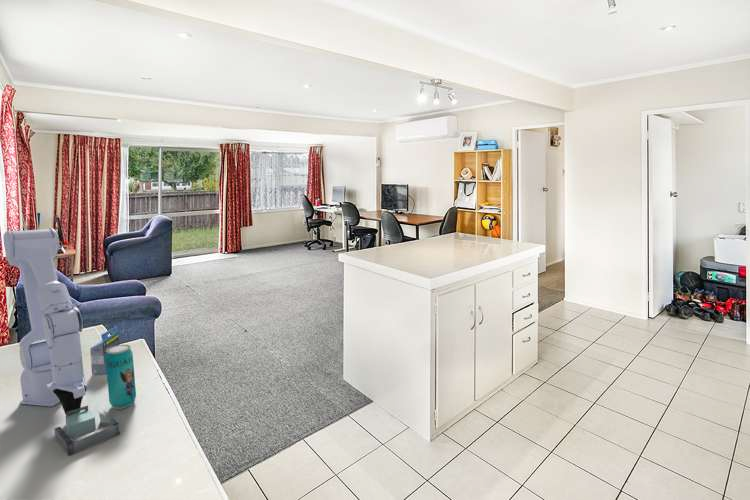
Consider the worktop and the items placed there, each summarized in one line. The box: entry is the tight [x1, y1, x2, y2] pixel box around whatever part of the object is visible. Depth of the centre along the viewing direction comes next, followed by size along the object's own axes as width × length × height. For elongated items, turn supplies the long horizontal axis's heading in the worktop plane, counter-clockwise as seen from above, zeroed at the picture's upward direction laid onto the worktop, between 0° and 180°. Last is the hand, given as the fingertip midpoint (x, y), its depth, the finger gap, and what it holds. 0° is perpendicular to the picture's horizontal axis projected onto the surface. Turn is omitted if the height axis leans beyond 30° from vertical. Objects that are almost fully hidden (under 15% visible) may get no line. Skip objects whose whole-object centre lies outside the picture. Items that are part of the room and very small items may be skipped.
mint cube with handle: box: [65, 405, 97, 438], centre depth 92 cm, size 6×4×4 cm
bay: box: [53, 409, 121, 457], centre depth 89 cm, size 9×10×2 cm
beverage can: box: [105, 344, 137, 410], centre depth 101 cm, size 6×6×15 cm
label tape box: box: [89, 325, 120, 376], centre depth 122 cm, size 9×4×12 cm, turn 6°
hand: (73, 416), depth 95 cm, fingers closed
